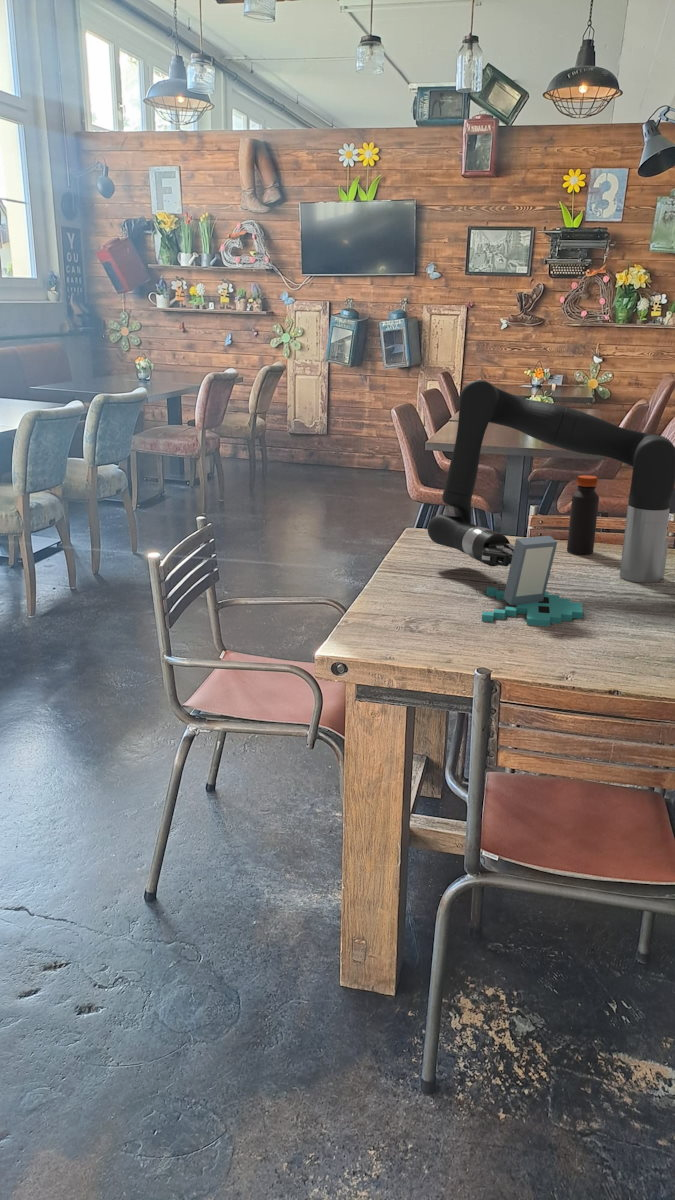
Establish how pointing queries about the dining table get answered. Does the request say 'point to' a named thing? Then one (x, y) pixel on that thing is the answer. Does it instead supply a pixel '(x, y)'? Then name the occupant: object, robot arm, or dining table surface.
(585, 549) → the bottle
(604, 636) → the dining table surface
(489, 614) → the alien figure
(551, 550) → the board
